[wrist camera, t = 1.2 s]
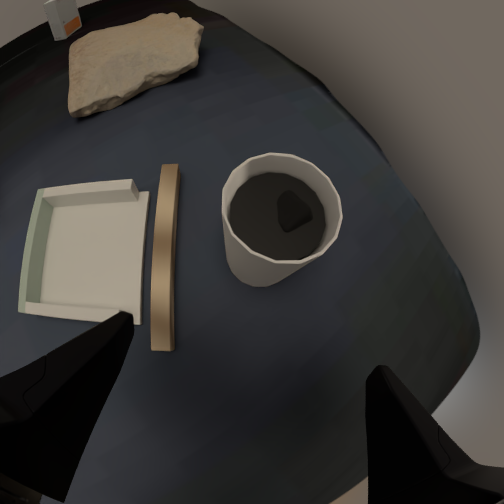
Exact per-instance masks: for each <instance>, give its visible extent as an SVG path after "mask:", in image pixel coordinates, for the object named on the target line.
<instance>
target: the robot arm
mask: <svg viewBox="0 0 504 504" xmlns="http://www.w3.org/2000/svg"><path fill="white" fill-rule="evenodd" d="M133 336H134V318H133V315H132V314H131V313H128V312H125V311H120V312H118V313H117V314H115V315H113V316H111V317H110V318H108V319H106V320H105V321H103V322H101V323H99V324H98V325H96V326H94V327H92V328H91V329H89V330H87V331H85V332H84V333H82V334H80V335H79V336H77V337H75V338H73V339H72V340H70V341H68V342H66V343H65V344H63V345H61V346H60V347H58V348H56V349H55V350H53V351H51V352H49V353H48V354H47V356H46V355H44V356H42V357H41V358H39V359H37V360H36V361H34V362H32V363H30V364H28V365H27V366H24V367H22V368H20V369H18V370H16V371H14V372H12V373H10V374H7V375H5V376H3V377H0V504H40V500H41V497H42V494H43V495H45V496H47V497H50V498H52V499H55V500H57V501H60V502H62V503H64V501H65V499H66V496H67V493H68V490H69V488H70V485H71V482H72V480H73V477H74V474H75V472H76V469H77V467H78V464H79V461H80V459H81V456H82V454H83V452H84V449H85V447H86V444H87V442H88V440H89V437H90V435H91V433H92V431H93V428H94V426H95V424H96V422H97V419H98V417H99V415H100V413H101V411H102V409H103V406H104V404H105V402H106V400H107V398H108V396H109V394H110V392H111V390H112V388H113V385H114V383H115V381H116V379H117V377H118V375H119V373H120V371H121V368H122V366H123V363H124V360H125V357H126V355H127V352H128V349H129V346H130V344H131V341H132V339H133ZM365 418H366V433H367V451H368V504H504V468H501V467H492V466H485V465H480V464H478V463H476V462H474V461H473V460H472V459H471V458H470V457H469V456H468V455H467V454H466V453H465V452H464V451H463V450H462V449H461V448H459V446H458V445H457V444H456V443H455V442H454V441H453V440H452V439H451V438H450V437H449V436H448V435H447V434H446V432H445V431H444V430H443V429H442V428H441V426H439V425H438V423H437V422H436V421H435V420H434V419H433V417H432V416H431V415H430V414H429V413H428V411H427V410H426V409H425V408H424V407H423V406H422V404H421V403H420V402H419V401H418V400H417V399H416V398H415V396H414V395H413V394H412V393H411V392H410V391H409V390H408V388H407V387H406V386H405V385H404V384H403V383H402V382H401V381H400V379H399V378H398V377H397V376H396V375H395V374H394V373H393V372H392V370H391V369H390V368H389V367H388V366H384V365H378V366H376V368H375V369H374V370H373V371H372V372H371V374H370V375H369V376H368V378H367V380H366V407H365Z"/></svg>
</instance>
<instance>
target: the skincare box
mask: <svg viewBox="0 0 504 504" xmlns="http://www.w3.org/2000/svg"><path fill="white" fill-rule="evenodd" d="M44 9H45V12H46V15H47V18H48V21H49V24H50V27H51V30H52V33H53V36H54V39H55V41H58V40H63V39H66V38H68V37H69V36H70V35H71V34H72V33H74V32H75V31H76V30H78V29H79V28H81V27H82V24H81V20H80V17H79V13H78V9H77V5H76V1H75V0H49V1H48V2H47V3H45V4H44Z"/></svg>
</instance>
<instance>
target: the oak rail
mask: <svg viewBox="0 0 504 504" xmlns="http://www.w3.org/2000/svg"><path fill="white" fill-rule="evenodd" d="M180 177H181V175H180V170H179V166H178V164H164V165H162V169H161V176H160V184H159V192H158V200H157V209H156V219H155V230H154V243H153V258H152V278H151V350H156V351H172V350H174V349H175V342H174V273H175V245H176V227H177V212H178V199H179V188H180Z"/></svg>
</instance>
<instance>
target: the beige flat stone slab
mask: <svg viewBox="0 0 504 504" xmlns="http://www.w3.org/2000/svg"><path fill="white" fill-rule="evenodd" d="M203 29H204V26H201V25H199V24H198V23H197V22H196V21H194V20H192V18H181V19H180V18H179V16H178V14H176V13H170V14H167V15H166V14H163V13H159V14H153V15H150V16H149V17H147V18H145V19H143V20H140V21H137V22H134V23H130V24H126V25H122V26H116V27H112V28H107V29H103V30H98V31H93V32H90V33H88V34H87V35H86V36H84V37H82V38H81V39H78V40H77V41H75V42H74V43H73V44H72V45H71V46H70V50H69V51H70V54H69V77H70V87H69V95H68V109H69V112H70V114H71V116H72V117H74V118H76V117H84V116H88V115H91V114H93V113H96V112H100V111H106V110H111V109H113V108H115V107H117V106H118V105H121V104H122V103H123V102H125V101H127V100H129V99H130V98H132V97H134V96H136V95H137V94H138V93H140V92H143V91H144V90H147V89H149V88H152V87H156V86H159V85H163V84H166V83H168V82H171V81H172V80H173V79H175V78H177V77H178V76H179V75H180V74H183V73H185V72H187V71H188V70H190V69H192V68H195V67H196V66H197V64H198V59H199V56H198V48H199V45H200V42H201V34H202V32H203Z"/></svg>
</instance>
